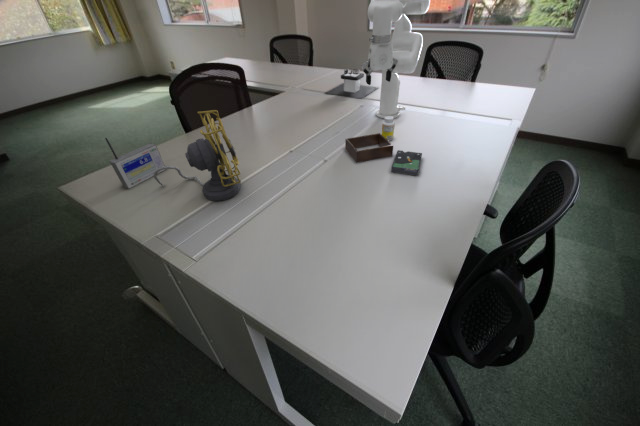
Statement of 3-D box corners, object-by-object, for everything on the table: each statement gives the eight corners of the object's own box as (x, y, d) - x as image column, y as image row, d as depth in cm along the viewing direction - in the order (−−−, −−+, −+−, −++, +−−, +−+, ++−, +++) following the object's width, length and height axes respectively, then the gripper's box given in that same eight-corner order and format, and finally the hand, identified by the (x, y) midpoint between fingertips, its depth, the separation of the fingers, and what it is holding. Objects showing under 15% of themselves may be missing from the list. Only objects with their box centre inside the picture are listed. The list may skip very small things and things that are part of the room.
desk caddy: (378, 143, 137) (379, 133, 134) (392, 156, 126) (393, 145, 123) (345, 149, 134) (345, 138, 131) (356, 162, 123) (356, 151, 120)
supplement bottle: (384, 135, 143) (386, 114, 137) (395, 138, 140) (397, 117, 134) (378, 139, 140) (380, 118, 134) (389, 142, 137) (391, 120, 131)
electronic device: (128, 189, 115) (103, 141, 103) (119, 184, 118) (93, 138, 106) (167, 169, 126) (148, 124, 114) (157, 165, 129) (138, 121, 117)
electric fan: (248, 205, 103) (228, 122, 85) (151, 224, 97) (106, 140, 78) (242, 169, 123) (224, 96, 104) (161, 184, 117) (127, 108, 98)
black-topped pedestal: (378, 87, 205) (379, 66, 196) (361, 98, 188) (362, 76, 180) (343, 83, 217) (343, 63, 209) (324, 93, 200) (323, 72, 192)
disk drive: (396, 155, 127) (390, 172, 116) (397, 149, 125) (391, 166, 114) (421, 158, 124) (418, 176, 113) (422, 152, 122) (419, 169, 111)
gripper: (366, 43, 118) (364, 87, 129) (404, 38, 121) (399, 81, 132) (358, 40, 123) (357, 83, 134) (395, 35, 127) (391, 77, 138)
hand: (378, 82), depth 133 cm, fingers open, 9 cm apart
